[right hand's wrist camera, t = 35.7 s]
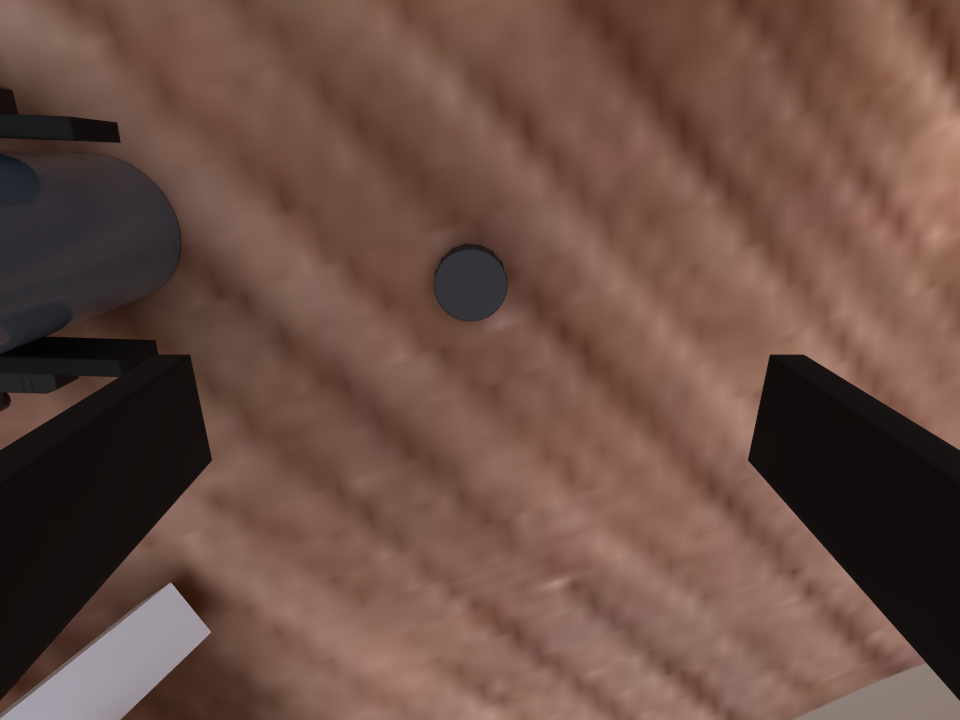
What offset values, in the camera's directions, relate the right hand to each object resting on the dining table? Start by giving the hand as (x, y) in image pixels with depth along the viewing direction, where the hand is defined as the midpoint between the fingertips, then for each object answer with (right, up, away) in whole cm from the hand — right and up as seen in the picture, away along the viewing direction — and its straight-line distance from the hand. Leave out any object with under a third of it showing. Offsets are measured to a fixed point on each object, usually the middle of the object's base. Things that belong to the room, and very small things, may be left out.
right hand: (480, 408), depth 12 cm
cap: (0, +5, +15) cm, 16 cm away
